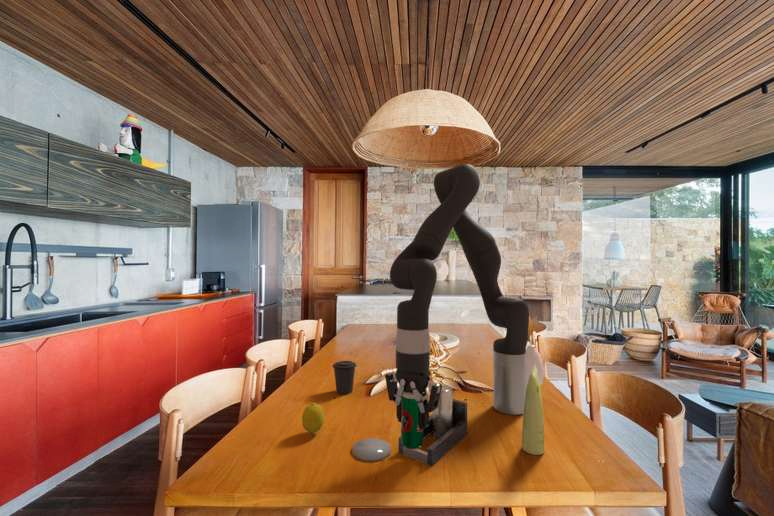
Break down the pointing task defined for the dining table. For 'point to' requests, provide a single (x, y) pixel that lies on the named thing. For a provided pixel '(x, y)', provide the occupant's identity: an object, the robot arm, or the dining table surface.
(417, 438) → the soda can
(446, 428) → the grey metal cylinder
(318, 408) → the lemon
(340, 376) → the coffee cup
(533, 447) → the tube
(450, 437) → the can rack
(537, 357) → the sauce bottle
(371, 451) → the grey disc
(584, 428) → the dining table surface
